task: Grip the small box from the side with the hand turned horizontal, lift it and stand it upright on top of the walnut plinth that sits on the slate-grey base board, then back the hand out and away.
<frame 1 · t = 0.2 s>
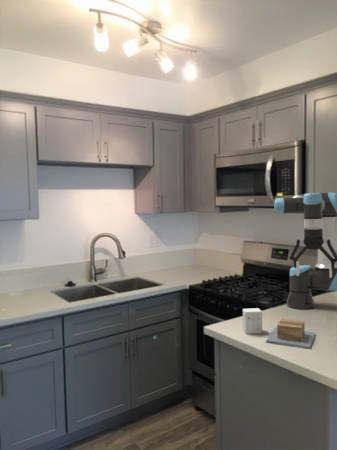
hand: (314, 276, 167), 28 cm above the worktop, tool pointing down, fingers open, 13 cm apart
small box: (252, 332, 179), on the worktop
base board: (291, 338, 169), on the worktop
walnut plinth: (291, 329, 169), on the base board, point 4 cm above the worktop
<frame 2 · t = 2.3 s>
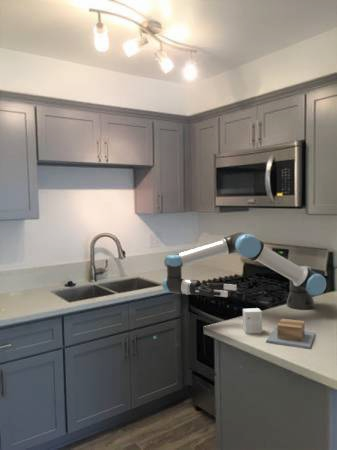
hand: (232, 290, 182), 19 cm above the worktop, tool horizontal, fingers open, 13 cm apart
nothing on the worktop moved.
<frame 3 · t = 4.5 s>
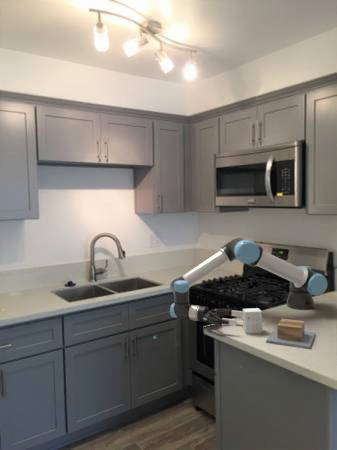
hand: (240, 318, 181), 6 cm above the worktop, tool horizontal, fingers open, 13 cm apart
nothing on the worktop moved.
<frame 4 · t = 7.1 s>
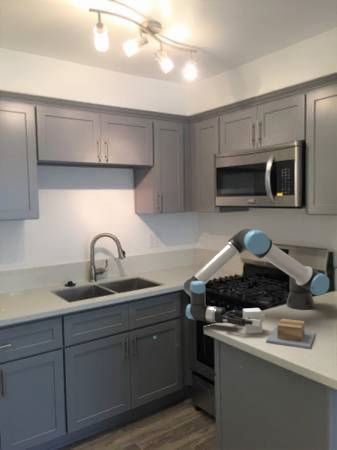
hand: (262, 320, 176), 6 cm above the worktop, tool horizontal, fingers closed on small box, 9 cm apart
small box: (252, 332, 179), on the worktop, touching gripper
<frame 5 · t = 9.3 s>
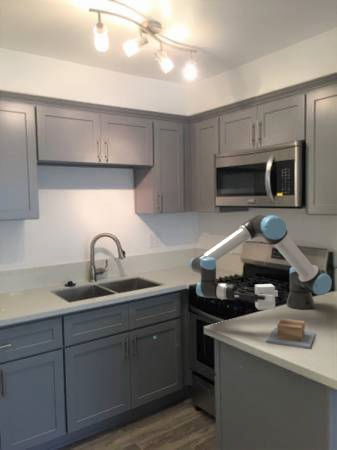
hand: (275, 295, 171), 19 cm above the worktop, tool horizontal, fingers closed on small box, 9 cm apart
small box: (265, 308, 174), point 12 cm above the worktop, touching gripper
when the fingers open (14 cm above the worktop, at t = 11.6 s): small box drops 1 cm, resting on walnut plinth.
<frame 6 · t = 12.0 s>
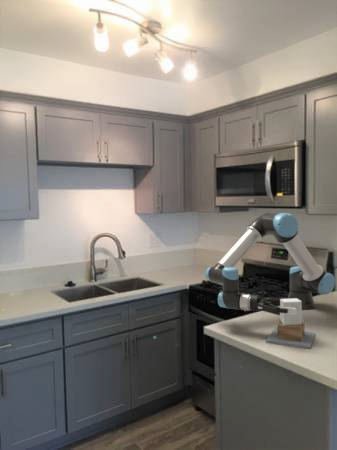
hand: (298, 307, 166), 14 cm above the worktop, tool horizontal, fingers open, 13 cm apart
small box: (290, 323, 168), point 7 cm above the worktop, touching walnut plinth
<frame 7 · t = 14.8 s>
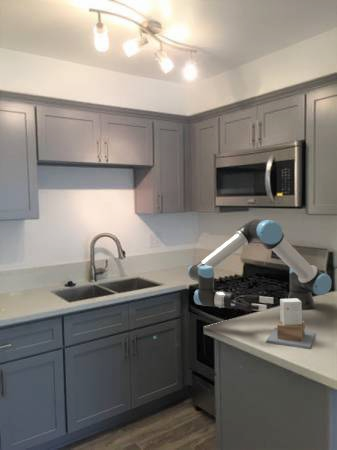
hand: (270, 304, 172), 15 cm above the worktop, tool horizontal, fingers open, 13 cm apart
nothing on the worktop moved.
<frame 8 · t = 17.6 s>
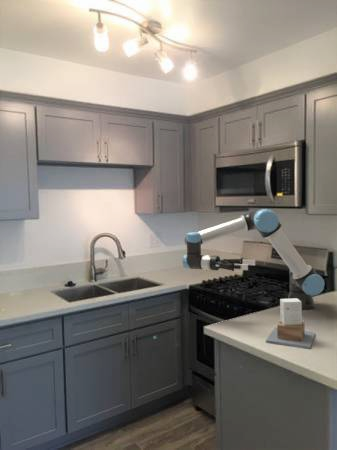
hand: (251, 265, 187), 30 cm above the worktop, tool horizontal, fingers open, 13 cm apart
nothing on the worktop moved.
at the end: small box 0.2 cm off-centre on the walnut plinth, point 6.8 cm above the walnut plinth's base; small box tilted 0°; the gripper is holding nothing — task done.
